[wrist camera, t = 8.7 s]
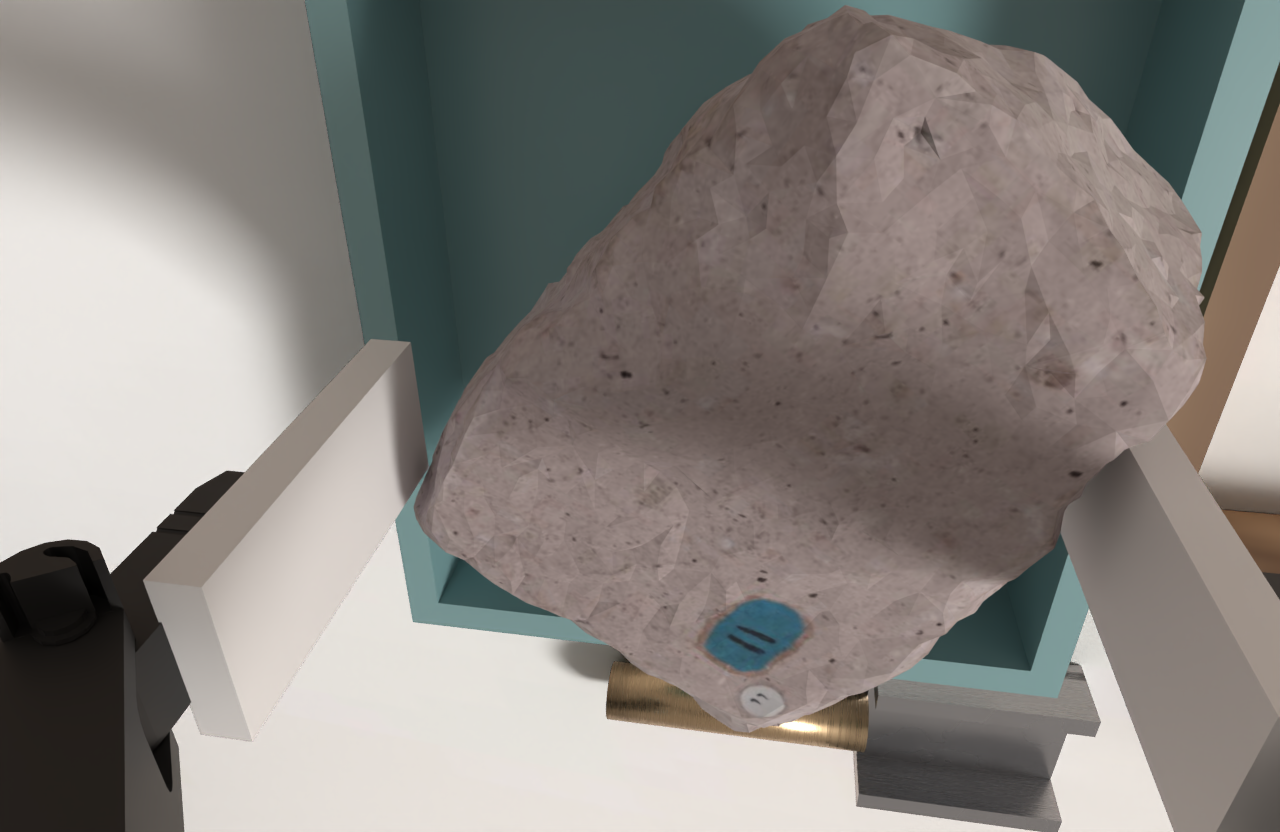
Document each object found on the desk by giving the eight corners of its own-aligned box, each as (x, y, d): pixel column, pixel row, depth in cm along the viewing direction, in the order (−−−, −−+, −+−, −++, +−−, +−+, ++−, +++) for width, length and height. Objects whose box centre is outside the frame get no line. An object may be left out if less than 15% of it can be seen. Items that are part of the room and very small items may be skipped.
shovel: (617, 720, 31) (605, 771, 29) (615, 612, 28) (602, 662, 27) (1041, 775, 29) (1057, 833, 27) (1080, 665, 27) (1100, 722, 25)
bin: (461, 530, 28) (412, 622, 24) (375, -142, 19) (279, -147, 15) (1023, 588, 25) (1057, 697, 22) (1239, -143, 16) (1352, -148, 13)
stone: (768, 646, 22) (761, 872, 17) (433, 441, 20) (313, 623, 15) (1238, 218, 16) (1457, 375, 10) (801, -133, 14) (807, -149, 9)
